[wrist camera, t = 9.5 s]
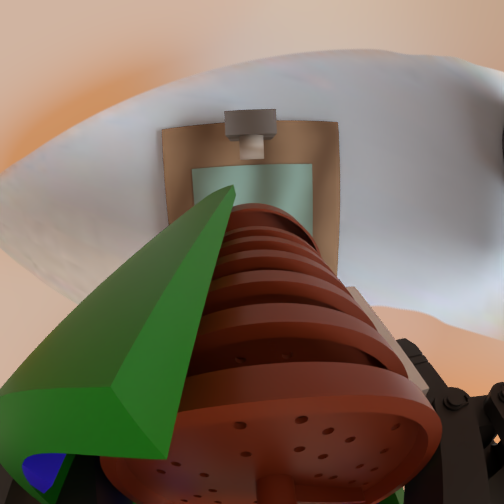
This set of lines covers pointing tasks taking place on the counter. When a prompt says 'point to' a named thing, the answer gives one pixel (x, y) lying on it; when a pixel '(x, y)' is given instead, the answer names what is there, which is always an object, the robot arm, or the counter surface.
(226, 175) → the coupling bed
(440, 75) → the counter surface
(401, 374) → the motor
